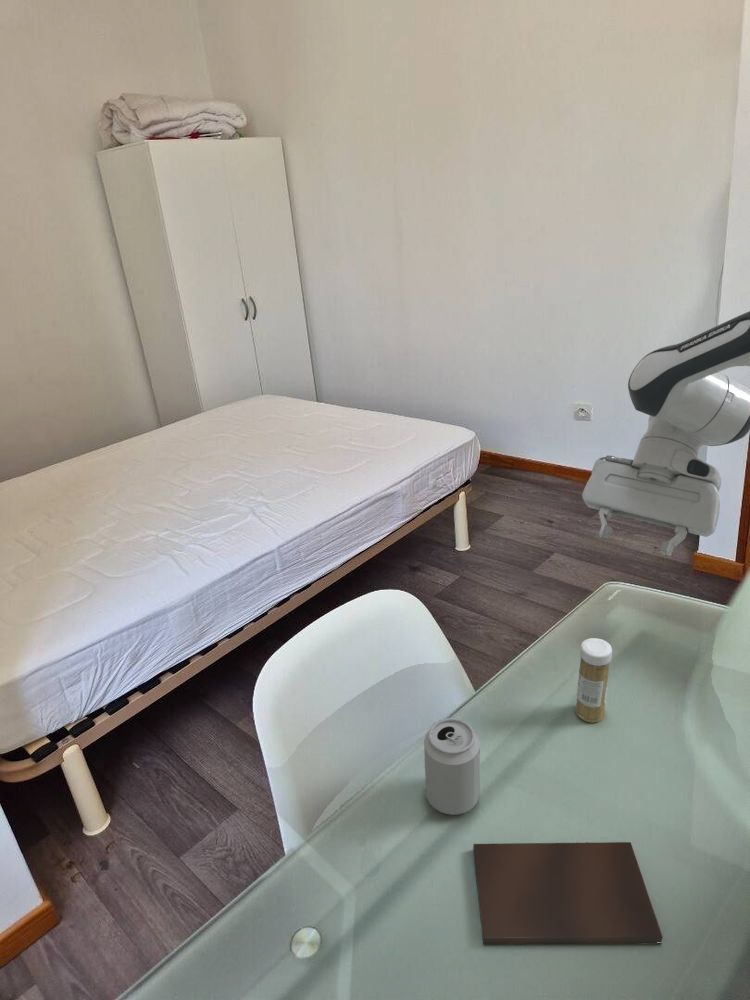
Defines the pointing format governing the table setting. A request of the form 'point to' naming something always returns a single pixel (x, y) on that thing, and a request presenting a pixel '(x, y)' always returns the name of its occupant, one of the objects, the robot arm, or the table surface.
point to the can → (452, 766)
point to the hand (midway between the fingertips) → (633, 545)
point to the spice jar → (593, 679)
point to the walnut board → (563, 894)
